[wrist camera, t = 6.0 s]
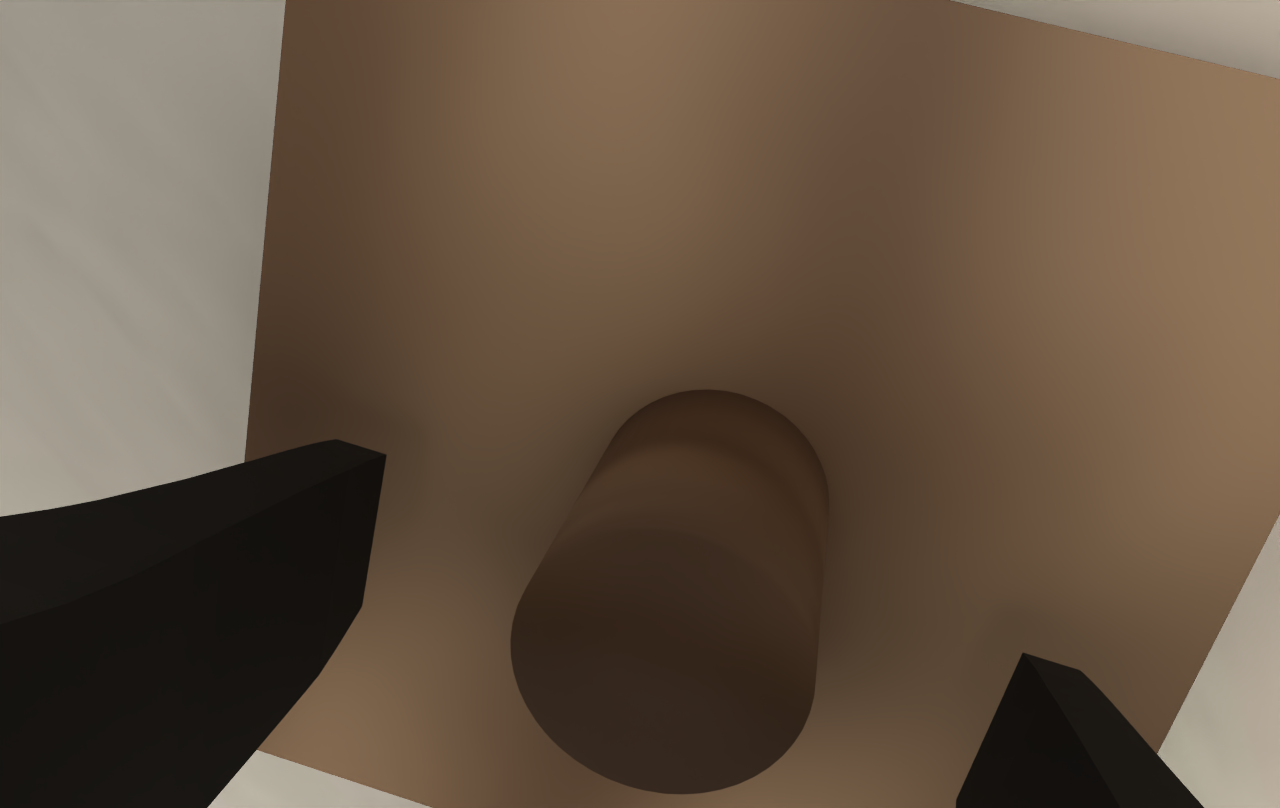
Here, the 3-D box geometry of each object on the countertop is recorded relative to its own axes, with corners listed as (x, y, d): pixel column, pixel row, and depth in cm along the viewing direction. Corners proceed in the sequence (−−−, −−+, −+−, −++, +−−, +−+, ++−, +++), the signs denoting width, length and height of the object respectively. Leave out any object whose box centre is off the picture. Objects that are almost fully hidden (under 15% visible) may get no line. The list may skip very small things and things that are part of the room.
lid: (251, 701, 17) (51, 930, 13) (337, -145, 12) (69, -218, 8) (1020, 950, 16) (1075, 1292, 12) (1431, 116, 11) (1768, 186, 7)
